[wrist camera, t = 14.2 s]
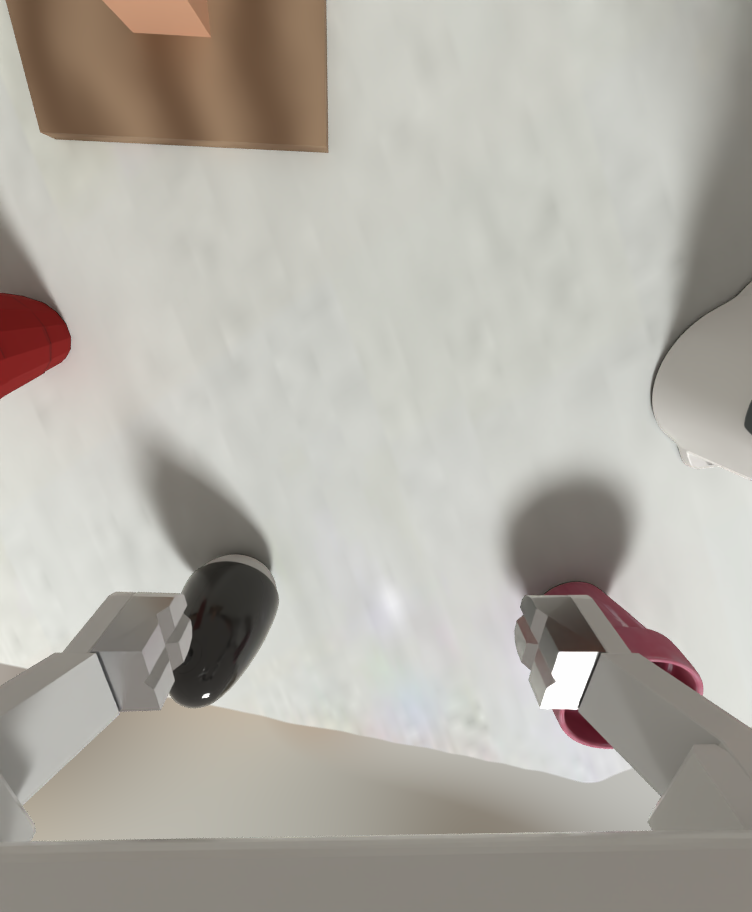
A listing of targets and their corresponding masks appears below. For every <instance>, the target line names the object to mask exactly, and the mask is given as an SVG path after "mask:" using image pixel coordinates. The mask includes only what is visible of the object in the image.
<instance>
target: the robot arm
mask: <svg viewBox="0 0 752 912" xmlns="http://www.w3.org/2000/svg"><path fill="white" fill-rule="evenodd" d="M652 406H653V412H654V416H655V419H656V421H657V423H658V425H659V427H660V428H661V430H662V431H663V432H664V433H665V434H666V435H667V436H668V437H669V438H671V439H672V440H673V441H674V442H675V443H676V444H677V446H678V449H679V452H680V456H681V459H682V461H683V462H684V464H686V465H687V466H690V467H692V468H695V469H703V468H709V467H716V466H719V467H721V468H723V469H726V470H728V471H730V472H732V473H735V474H737V475H739V476H741V477H744V478H746V479H748V480H751V481H752V281H751V282H750V283H749V284H748V285H747V286H746V287H745V288H744V289H743V290H742V291H741V292H740V293H739V294H738V295H737V296H736V297H735V298H733V299H732V300H730V301H729V302H727V303H725V304H724V305H722V306H720V307H718V308H716V309H714V310H713V311H711V312H709V313H708V314H706V315H705V316H703V317H702V318H700V319H699V320H698V321H697V322H695V323H694V324H693V325H692V326H691V327H689V328H688V329H687V330H686V331H685V332H684V333H683V334H682V335H681V336H680V338H679V339H678V340H677V341H676V342H675V344H674V345H673V346H672V348H671V349H670V350H669V352H668V353H667V355H666V357H665V358H664V360H663V362H662V364H661V366H660V368H659V371H658V373H657V376H656V379H655V383H654V387H653V394H652ZM186 607H187V603H186V600H185V596H184V595H183V594H180V593H152V592H137V593H136V592H115V593H113V594H111V595H109V596H108V597H107V598H106V600H105V601H104V602H103V603H102V605H101V606H100V607H99V608H98V609H97V611H96V612H95V613H94V614H93V616H92V617H91V618H90V619H89V620H88V622H87V623H86V624H85V625H84V627H83V628H82V629H81V630H80V631H79V633H78V634H77V635H76V636H75V638H74V639H73V640H72V641H71V642H70V644H69V645H68V646H67V647H66V649H65V650H64V651H63V652H62V653H54V654H52V655H50V656H49V657H47V658H45V659H44V660H42V661H40V662H39V663H37V664H35V665H34V666H32V667H30V668H29V669H27V670H26V671H24V672H22V673H21V674H19V675H17V676H16V677H14V678H12V679H11V680H9V681H7V682H6V683H4V684H3V685H1V686H0V912H752V729H751V728H750V727H748V726H747V725H745V724H744V723H742V722H741V721H739V720H738V719H736V718H735V717H733V716H732V715H730V714H729V713H727V712H726V711H724V710H723V709H721V708H720V707H718V706H717V705H715V704H714V703H712V702H711V701H709V700H708V699H706V698H705V697H703V696H702V695H700V694H699V693H697V692H696V691H694V690H693V689H691V688H690V687H688V686H687V685H685V684H684V683H682V682H681V681H679V680H678V679H676V678H675V677H673V676H672V675H670V674H669V673H667V672H666V671H664V670H663V669H661V668H660V667H658V666H657V665H655V664H654V663H652V662H651V661H649V660H648V659H646V658H645V657H643V656H642V655H640V654H639V653H631V651H630V650H629V648H628V647H627V646H626V644H625V643H624V641H623V640H622V639H621V637H620V636H619V635H618V633H617V632H616V630H615V629H614V628H613V626H612V625H611V623H610V622H609V621H608V619H607V618H606V617H605V615H604V614H603V612H602V611H601V610H600V608H599V607H598V605H597V604H596V603H595V601H594V600H593V599H592V598H591V597H590V596H588V595H566V596H565V595H525V596H524V598H523V599H522V602H521V606H520V608H521V610H522V612H523V614H524V615H523V616H521V617H520V618H519V619H518V620H517V621H516V626H515V644H516V648H517V652H518V655H519V657H520V660H521V662H522V663H523V664H524V665H525V666H526V667H528V668H529V669H530V670H531V673H530V677H529V682H530V685H531V687H532V689H533V692H534V694H535V697H536V699H537V701H538V704H539V706H540V708H543V709H579V710H578V712H579V713H580V714H581V715H582V716H583V717H584V718H585V719H586V720H587V721H588V722H589V723H590V724H591V725H592V726H593V727H594V728H595V729H596V730H597V732H598V733H599V734H600V735H601V736H602V737H603V738H604V739H605V740H606V741H607V742H608V743H609V744H610V745H611V746H612V747H613V748H614V749H615V750H616V751H617V752H618V753H619V754H620V755H621V756H622V757H623V758H624V759H625V760H626V761H627V762H628V763H629V764H630V765H631V766H632V767H633V768H634V769H635V770H636V771H637V772H638V773H639V775H640V776H641V777H642V778H644V780H645V781H646V782H647V783H648V784H649V785H650V786H651V787H652V788H653V789H654V790H655V791H656V792H657V793H658V794H659V795H660V796H661V798H660V800H659V801H658V803H657V804H656V806H655V807H654V809H653V811H652V812H651V814H650V817H649V820H648V823H649V825H650V827H651V829H652V831H608V832H607V831H606V832H550V833H549V832H546V833H491V834H490V833H486V834H485V833H484V834H431V835H430V834H428V835H427V834H426V835H371V836H370V835H366V836H313V837H312V836H310V837H308V836H307V837H252V838H251V837H250V838H196V839H195V838H194V839H193V838H192V839H134V840H74V841H31V839H32V838H33V836H34V834H35V832H36V830H35V823H34V822H33V821H32V819H31V818H30V816H29V815H28V813H27V812H26V810H25V809H24V807H23V806H22V805H23V804H24V803H25V802H27V801H28V800H29V799H30V798H31V797H32V796H33V795H34V794H35V793H36V792H37V791H38V790H39V789H40V788H41V787H43V786H44V785H45V784H46V783H47V782H48V781H49V780H50V779H51V778H52V777H53V776H54V775H55V774H56V773H57V772H59V771H60V770H61V769H62V768H63V767H64V766H65V765H66V764H67V763H68V762H69V761H70V760H71V759H72V758H73V757H75V755H77V754H78V753H79V752H80V751H81V750H82V749H83V748H84V747H85V746H86V745H87V744H88V743H89V742H90V741H92V740H93V739H94V738H95V737H96V736H97V735H98V734H99V733H100V732H101V731H102V730H103V729H104V728H105V727H106V726H107V725H109V724H110V723H111V722H112V721H113V720H114V719H115V718H116V717H117V716H118V715H119V714H120V713H119V712H122V711H149V710H161V708H162V706H163V704H164V702H165V700H166V698H167V696H168V694H169V692H170V690H171V688H172V685H173V683H174V681H175V679H174V675H173V672H172V671H173V670H174V669H176V668H177V667H178V666H179V665H181V664H182V663H183V662H184V660H185V658H186V656H187V654H188V651H189V648H190V644H191V639H192V624H191V620H190V619H189V618H188V617H187V616H186V615H185V614H184V613H183V612H184V610H185V609H186Z"/></svg>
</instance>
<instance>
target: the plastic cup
mask: <svg viewBox="0 0 752 912" xmlns="http://www.w3.org/2000/svg"><path fill="white" fill-rule="evenodd" d="M70 349H71V336H70V334H69V331H68V328H67V326H66V324H65V322H64V321H63V320H62V319H61V317H60V316H59V315H58V313H57V312H56V311H54V310H53V309H51V308H50V307H49V306H47V305H46V304H44V303H42V302H39V301H36V300H33V299H30V298H27V297H24V296H19V295H12V294H5V293H0V399H1V398H2V397H4V396H5V395H7V394H9V393H11V392H12V391H14V390H16V389H17V388H19V387H21V386H23V385H24V384H26V383H28V382H30V381H31V380H33V379H35V378H37V377H38V376H40V375H42V374H44V373H45V371H47V370H49V369H50V368H52V367H54V366H56V365H58V364H59V363H61V362H62V361H63V360H64V359H65V358H66V356H67V355H68V353H69V351H70Z"/></svg>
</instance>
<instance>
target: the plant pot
mask: <svg viewBox="0 0 752 912" xmlns="http://www.w3.org/2000/svg"><path fill="white" fill-rule="evenodd" d="M544 595H565V596H566V595H588V596H590V597H591V598H592V599H593V600H594V601H595V603H596V604H597V605H598V607H599V608H600V610H601V611H602V612H603V614H604V615H605V617H606V618H607V619H608V621H609V622H610V623H611V625H612V626H613V628H614V629H615V630H616V632H617V633H618V635H619V636H620V637H621V639H622V640H623V641H624V643H625V644H626V646H627V647H628V648H629V650H630V651H631V653H639V654H640V655H642V656H643V657H645V658H646V659H648V660H649V661H651V662H652V663H654V664H655V665H657V666H658V667H660V668H661V669H663V670H664V671H666V672H667V673H669V674H670V675H672V676H673V677H675V678H676V679H678V680H679V681H681V682H682V683H684V684H685V685H687V686H688V687H690V688H691V689H693V690H694V691H696V692H697V693H699V694H700V695H702V696H703V683H702V680H701V678H700V676H699V674H698V673H697V671H696V670H695V669H694V667H693V666H692V665H691V663H690V662H689V661H688V660H687V659H686V657H685V656H684V655H683V654H682V653H681V651H680V650H679V649H678V648H677V647H676V646H675V645H674V644H673V643H672V642H671V641H670V640H669V639H668V638H667V637H665V636H664V635H662V634H660V633H658V632H656V631H653V630H649V629H646V628H645V627H644V626H643V625H642V624H641V623H639V622H638V621H637V620H636V619H635V618H634V617H632V616H631V615H630V614H629V613H628V612H627V611H625V610H624V609H623V608H622V607H621V606H619V605H618V604H617V603H616V602H614V601H613V600H612V599H611V598H610V597H608V596H607V595H606V594H605V593H603V592H602V591H601V590H600V589H599V588H597V587H596V586H594V585H592V584H589V583H585V582H569V583H565V584H562V585H559V586H556V587H554V588H552V589H551V590H549V591H548V592H546V593H545V594H544ZM552 710H553V712H554V714H555V716H556V718H557V720H558V722H559V724H560V726H561V728H562V729H563V731H564V732H565V733H566V734H567V735H568V736H569V737H570V738H571V739H573V740H575V741H576V742H578V743H581V744H583V745H586V746H590V747H595V748H604V749H614V748H613V747H612V746H611V745H610V744H609V743H608V742H607V741H606V740H605V739H604V738H603V737H602V736H601V735H600V734H599V733H598V732H597V730H596V729H595V728H594V727H593V726H592V725H591V724H590V723H589V722H588V721H587V720H586V719H585V718H584V717H583V716H582V715H581V714H580V713H579V712H578V710H579V709H552Z"/></svg>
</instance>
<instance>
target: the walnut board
mask: <svg viewBox="0 0 752 912" xmlns="http://www.w3.org/2000/svg"><path fill="white" fill-rule="evenodd" d="M6 3H7V7H8V11H9V15H10V18H11V22H12V26H13V30H14V34H15V38H16V41H17V45H18V49H19V53H20V57H21V60H22V64H23V68H24V72H25V76H26V79H27V83H28V87H29V91H30V95H31V99H32V102H33V106H34V110H35V114H36V118H37V121H38V125H39V129H40V132H41V133H43V134H46V135H48V136H50V137H52V138H54V139H61V140H82V141H102V142H122V143H142V144H163V145H183V146H203V147H223V148H244V149H264V150H284V151H305V152H325V153H328V97H327V26H326V0H207V4H208V13H209V23H210V32H211V37H198V36H181V35H164V34H147V33H133V32H132V31H131V30H130V29H129V28H128V27H127V26H126V25H125V24H124V23H123V22H122V21H121V19H120V18H119V17H118V16H117V15H116V14H115V13H114V12H113V11H112V10H111V9H110V8H109V7H108V6H107V5H106V4H105V3H104V1H103V0H6Z"/></svg>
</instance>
